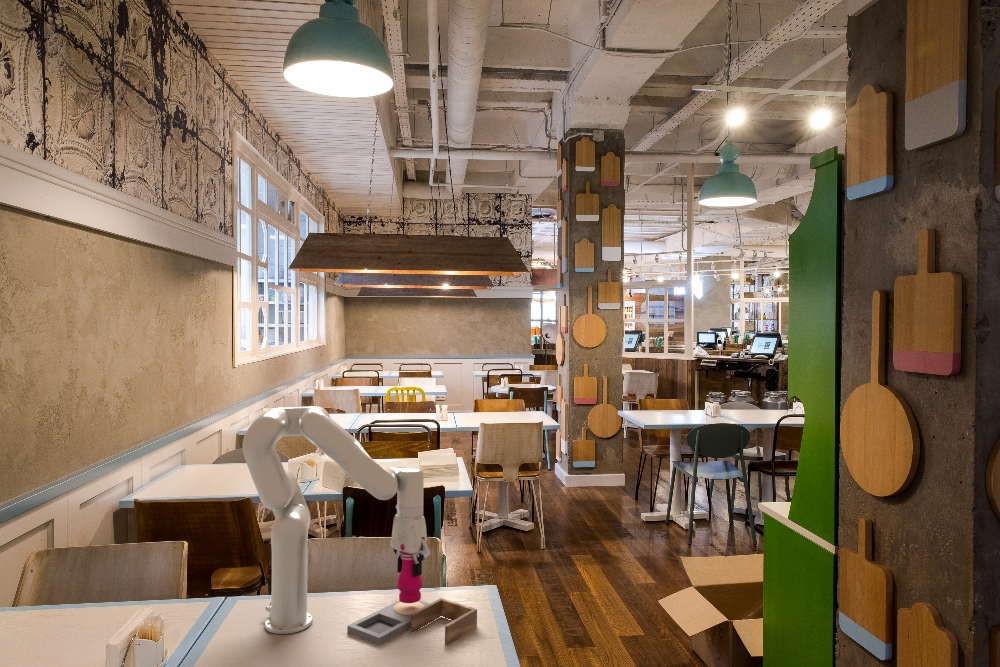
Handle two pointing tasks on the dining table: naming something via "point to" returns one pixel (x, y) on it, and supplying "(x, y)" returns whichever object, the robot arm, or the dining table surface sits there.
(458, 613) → the wooden u-shaped frame
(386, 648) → the dining table surface
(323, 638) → the dining table surface
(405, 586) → the pepper mill
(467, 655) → the dining table surface
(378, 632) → the gray portable music player
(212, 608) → the dining table surface
